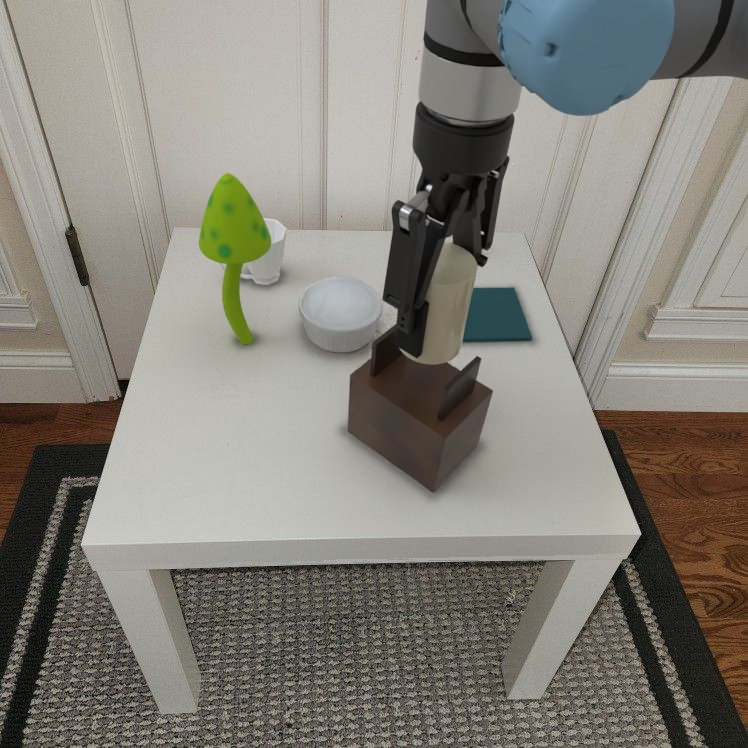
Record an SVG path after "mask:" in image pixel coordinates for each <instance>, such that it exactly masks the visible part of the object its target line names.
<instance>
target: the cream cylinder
mask: <svg viewBox="0 0 748 748" xmlns="http://www.w3.org/2000/svg"><path fill="white" fill-rule="evenodd" d="M477 273H478V265H477V262H476V260H475V258H474V257H473V255H472V254H471V253H470V252H468V251H467V250H466V249H464V248H462V247H460V246H457V245H455V244H452V243H450V242H447V241H444V244H443V247H442V250H441V253H440V256H439V259H438V262H437V265H436V268H435V271H434V274H433V276H432V279H431V282H430V285H429V288H428V291H427V294H426V297H425V301H427V302H428V303H429V309H428V315H427V322H426V329H425V335H424V342H423V349H422V355H421V356H419V357H418V358H415V357H414V356H412V355H410V354H409V353H407V352H405V351H404V350H402V349H400V348H399V349H400V350H401V351H402V353H403V354H404V355H406V356H407V357H408V358H410V359H412V360H414V361H416V362H419V363H423V364H429V365H436V364H442V363H446V362H447V363H449V362H451V361H452V360H453V359H455V358H456V357H457V356H458V355H459V354H460V351H461V350H462V345H463V342H462V340H463V336H464V331H465V326H466V321H467V316H468V312H469V307H470V302H471V297H472V292H473V288H475V281H476V277H477Z"/></svg>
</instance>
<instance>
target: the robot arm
mask: <svg viewBox="0 0 748 748" xmlns="http://www.w3.org/2000/svg"><path fill="white" fill-rule="evenodd" d="M423 30H424V32H423V38H422V41H423V47H422V55H421V64H420V73H419V82H418V91H417V95H418V96H417V97H418V99H419V102H418V103H417V104H416V107H415V113H414V123H413V133H412V144H411V145H412V149H413V150H412V151H413V153H414V154H415V156H416V157H417V159H418V161H419V164H420V166H421V173H420V176H419V178H418V182H417V184H416V187H415V188H416V189H415V195H414V196H412V198H411V199H410V200H409V201H408V202H404V201H402V200H400V199H398V200H396V201H395V202H394V203H393V204H392V207H391V210H390V211H391V220H392V233H391V240H390V247H389V253H388V259H387V265H386V272H385V279H384V285H383V292H382V296H381V299H382V302H383V303H386V304H387V305H389V306H391V307H393V308H394V309H396V310H397V314H396V321H395V322H396V323H395V324H396V326H397V332H396V342H395V345H396V346H397V347H399V348H400V349H402V350H404V351H405V352H407V353H409V354H410V355H412V356H414V357H415V358H418V357H419V356H421V355H422V349H423V342H424V335H425V329H426V322H427V315H428V309H429V303H428V302H427V301H425V297H426V294H427V291H428V288H429V285H430V282H431V279H432V276H433V274H434V271H435V268H436V265H437V262H438V259H439V256H440V253H441V250H442V247H443V244H444V242H446V239H447V238H451V237H452V242H453V244H455V245H457V246H460V247H462V248H464V249H466V250H467V251H468V252H470V253H471V254H472V255H473V257H474V258H475V260H476V262H477V267H480V268H483V267H485V266H486V264H487V262H488V260H489V257H488V256H487V255H484V254H483V253H482V251H483V250H484V251H488V250H490V249H491V248H492V246H493V242H494V236H495V230H496V225H497V218H498V212H499V206H500V199H501V194H502V189H503V181H504V179H505V176H506V172H507V170H508V166H509V164H510V159H511V157H510V156H509V155H508V153H509V149H510V144H511V138H512V136H513V135H512V133H513V130H514V126H515V119H516V118H515V115H514V113H515V112H516V111H517V110H518V108H519V104H520V100H521V94H522V90H523V87H524V88H525V89H526V90H527V91H528V92H529V93H530V94H535V95H536V96H538V98H540V99H541V100H542V101H543V102H545V103H546V104H547V105H548V106H549V107H551V108H552V109H554V110H556V111H558V112H560V113H563V114H566V115H570V116H577V117H581V116H582V117H587V116H588V117H589V116H595V115H599V114H603V113H605V112H607V111H609V110H610V108H612V107H615V105H617V104H619V103H620V102H622V101H626V100H627V101H628V100H629V99H630V98H632V97H634V96H635V95H636V94H638V93H639V92H640V91H641V90H642V89H643V88H644V87H645V86H646V85H647V83H649V81H657V80H658V81H659V80H673V79H675V80H679V79H683V78H685V79H686V78H707V77H708V78H711V77H731V78H739V79H743V80H747V81H748V0H426V8H425V19H424V29H423Z"/></svg>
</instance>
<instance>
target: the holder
mask: <svg viewBox="0 0 748 748" xmlns="http://www.w3.org/2000/svg"><path fill="white" fill-rule="evenodd" d="M396 332H397V326H396V323H395V324H393V326H391V327H390V328H388V329H387V330H386V331H385V332H383V333H382V334H381V335H380V336H379V337H377V338H376V339H374V340H373V341H372V342H371V354H370V355H371V356H370V358H369V359H368V360H366V361H365V362H364V363H363V364H362V365H360V366H359V367H358V368H357V369H355V370H354V371H352V372H351V373H350V374H349V386H348V387H349V390H348V409H347V410H348V411H347V413H348V414H347V432H348V433H349V434H351V435H352V436H353V437H355V438H356V439H358V440H359V441H360V442H362V443H363V444H365V445H366V446H367V447H369V448H370V449H372V450H373V451H374V452H375V453H377V454H379V455H380V456H381V457H383V458H384V459H386V460H387V461H388V462H390V463H391V464H392V465H394V466H395V467H397V468H398V469H400V470H401V471H402V472H404V474H406V475H408V476H409V477H410V478H412V479H413V480H415V481H416V482H417V483H419V484H420V485H422V486H423V487H424V488H426V489H428V490H429V491H430V492H431V493H435V492H436V491H437V490H438V489H439V488H440V486H441V485H443V483H444V482H445V481H446V480H448V478H449V477H450V476H451V475H452V474H453V473H454V472H455V470H457V468H458V467H459V466H460V465H461V464H463V462H464V461H465V460H466V459H468V457H469V456H470V455H471V454H472V452H474V450H475V449H476V448H477V447H478V446H479V442H480V439H481V435H482V432H483V428H484V425H485V421H486V417H487V415H488V412H489V407H490V404H491V400H492V397H493V393H494V390H493V389H492V388H490V387H488V385H485V384H483V383H482V382H480V381H478V380H477V378H478V375H479V370H480V366H481V363H482V359H483V358H482V357H480V356H479V355H476V356H475V357H474V358H473V359H472V360H471V361H470V362H468V363H467V364H466V365H465V366H464V367H463V368H462V369H459V368H457V367H456V366H454V365H452V364H451V363H449V362H446V363H442V364H436V365H429V364H423V363H419V362H416V361H414V360H412V359H410V358H408V357H407V356H406V355H404V354H403V353H402V351H401V350H400V349H399V347H397V346H396V345H395V342H396Z"/></svg>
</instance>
